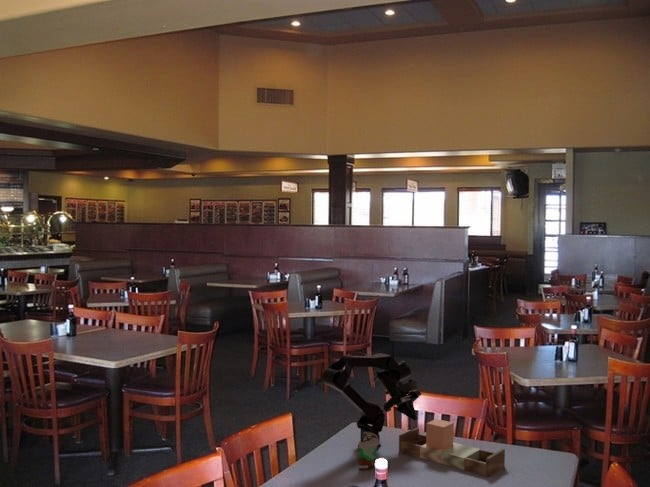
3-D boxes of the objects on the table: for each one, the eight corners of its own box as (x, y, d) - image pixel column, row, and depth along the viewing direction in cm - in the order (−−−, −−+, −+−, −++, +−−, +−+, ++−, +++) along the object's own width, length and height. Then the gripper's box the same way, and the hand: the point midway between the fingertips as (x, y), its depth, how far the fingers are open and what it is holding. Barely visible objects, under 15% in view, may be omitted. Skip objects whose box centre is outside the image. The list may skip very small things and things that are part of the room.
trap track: (398, 451, 235) (399, 435, 235) (416, 443, 244) (416, 427, 244) (488, 476, 212) (489, 458, 212) (504, 466, 221) (504, 449, 221)
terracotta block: (426, 445, 230) (426, 423, 230) (436, 440, 235) (436, 418, 235) (443, 449, 226) (443, 427, 225) (453, 444, 231) (453, 422, 231)
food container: (376, 473, 214) (377, 443, 213) (358, 471, 215) (358, 442, 215) (380, 460, 226) (381, 432, 226) (363, 459, 227) (363, 431, 227)
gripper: (391, 376, 233) (416, 412, 226) (417, 368, 247) (442, 402, 241) (372, 394, 238) (397, 429, 231) (399, 385, 253) (423, 419, 246)
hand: (416, 419), depth 237 cm, fingers closed
